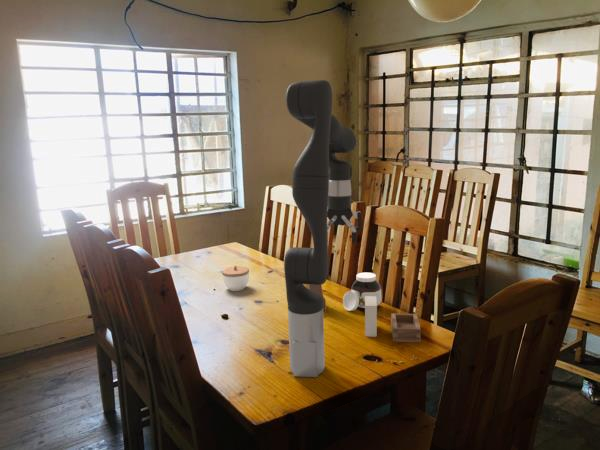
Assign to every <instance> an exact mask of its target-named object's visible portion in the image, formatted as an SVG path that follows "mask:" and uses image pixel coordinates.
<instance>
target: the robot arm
mask: <svg viewBox="0 0 600 450" xmlns="http://www.w3.org/2000/svg"><path fill="white" fill-rule="evenodd" d="M332 89H333V88H332V86H331V83H330V82H329V81H328V80H326V79H317V80H314V79H313V80H304V81H303V80H302V81H295V82H292V83H291V84H289V86H288V87H287V89H286V94H285V103H286V107H287V110H288V113H289V114H290V116H292V117H293V118H294V119H296V120H297V121H299V122H301V123H302V124H304V125H306V126H307V127H309V128H310V129H311V130H313V131H312V133H311V137H310V138H309V141H308V143H307V145H306V146H305V148H304V150H303V151H302V152H301V154H300V156H299V157H298V159H297V160H296V162H295V164H294V166H293V170H292V187H291V189H292V191H291V193H292V195H291V196H292V197H293V201H294V203H295V205H296V207H297V208H298V210H299V212H300V213H301V215H302V218H303V219H304V220H305V222H306V224H307V226H308V227H309V230H310V234H311V236H312V237H311V238H312V243H313V247H296V246H295V247H290V248H288V249H287V251H286V252H285V255H284V261H283V262H284V263H283V265H284V266H283V267H284V269H283V270H284V278H285V279H284V280H285V288H286V289H285V291H286V301H287V316H288V317H287V319H288V320H287V321H288V322H287V323H288V341H289V342H288V344H289V346H288V347H289V369H290V371H291V373H292V374H293V377H300V378H301V377H303V378H317V377H318V376H319V375H320V374H322V373H323V372H324V371H325V367H326V366H325V364H326V363H325V361H326V360H325V332H324V331H325V328H324V326H325V325H324V312H323V298H322V297H321V296H320V295H319V294H318V293H315V292H313V291H311V290H309V289H308V288H307V287H306V286H305V285H306V284H314V285H321V286H322V285H324V284H325V283H326V282H327V279H328V276H329V231H328V230H329V229H330V228H331V226H333V225H334V226H346V225H347V227H348V228H349V229H350V230H351V244H352V245H354V244H355V243H356V241H357V232H359V231H362V229H363V226H362V225H363V224H362V212H361V211H360V210H358V211H353V210H352V184H351V164H350V163H349V161H348V160H343V159H339V158H338V157H337V156H336V154H348V153H351V152H353V151H354V149H355V148H356V146H357V137H356V135H355V133H354V131H353V130H352V129H351V128H349V127H347V126H346V125H344V124H342V123H341V122H340V120H338V118H337V117H336V116H335V115H334V114H333V90H332ZM353 216H354V218H355V219H357V226H355V224H353V222H352V221H351V219H352V218H353ZM328 220H329V221H328Z"/></svg>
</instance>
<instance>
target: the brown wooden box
mask: <svg viewBox="0 0 600 450" xmlns="http://www.w3.org/2000/svg"><path fill="white" fill-rule="evenodd" d="M390 314H391V315H390V316H391V319H390V327H391V334H392V335H391V336H392V342H397V343H398V342H400V343H401V342H402V343H404V342H405V343H422V340H421V339H422V337H421V336H422V335H421V334H422V333H421V332H422V329H421V326H420V321H419V318H418V314H417V313H394V312H391V313H390Z"/></svg>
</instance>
